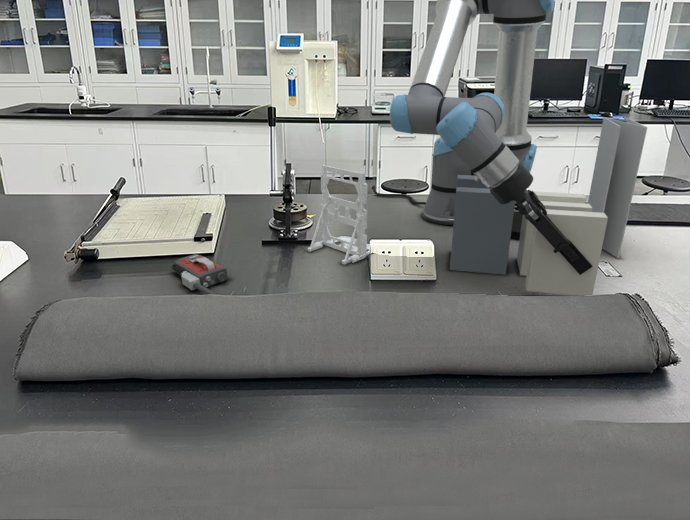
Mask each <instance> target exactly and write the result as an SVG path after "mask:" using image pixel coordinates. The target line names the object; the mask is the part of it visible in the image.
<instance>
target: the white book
mask: <svg viewBox="0 0 690 520" xmlns="http://www.w3.org/2000/svg"><path fill="white" fill-rule="evenodd" d="M541 211H542V210H541ZM546 211H547V216H548V217H549V219H550V220H551V221H552V222H553V223H554V224H555V225H556V227H557V228H558V229H559V230H560V231H561V232H562V234H563V235H564V236H565V237H566V238H567V239H568V240H569V241H571V242H572V243H573V244H574V246H575V247H576V248H577V249H578V250H579V251H580V252H581V253H582V255H583V256H584V257H585V258H586V259H587V260H588V261H589V262H590V264H591V265H592V266H593V267H592V268H590V269H589V270H587V271H586V272H584V273H583V274H581V275H579V273H578V272H577V271H576V270H575V269H574V268H573V267H572V266H571V264H570V263H569V262H568V261H567V260H566V259H565V258H564V257H563V256H562V254H561V253H560V252H557V253H554V251H553V250H554V249H555V248H554V247H553V246H552V245H551V244H550V243H549V242H548V241H547V240H546V238H545V237H544V236H543V235H542V234H541V233H540V232H539V231H538V230H537V229H536V228H535V226H534V229H533V236H532V243H531V250H530V256H529V263H528V270H527V276H525V277H526V278H525V285H524V286H525V289H526V292H533V293H541V294H542V293H543V294H554V295H565V296H575V295H592V296H593V294H594V290H595V289H594V288H595V284H596V279H597V274H598V270H599V264H600V260H601V254H602V250H603V249H602V245H603V240H604V235H605V230H606V225H607V220H608V217H607V216H606V215H605V213H599V212H583V211H566V210H550V209H546Z"/></svg>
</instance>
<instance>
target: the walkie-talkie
mask: <svg viewBox="0 0 690 520" xmlns="http://www.w3.org/2000/svg"><path fill="white" fill-rule="evenodd" d="M170 268H171V269H172V270H173V271H175V273H176V274H177V275H178V276H180V277H181V283H182V285H183V286H185V287H186V288H188V289H189V290H190V291H194V290H198V291H200V292H202V293H204V295H205V294H206V295H207V294H217V293H216V292H214V291H212V290H211V289H209V287H212V286H214V285H215V286H216V285H218V284H220V283H223V282H226V281H228V269H227V267H225V266H223V265H221V264H219V263H217V262H215V261H213V260H211V259H210V258H207V257H205V256H203V255H201V254H197V253H195V254H191V255H187V256H184V257H181V258H178V259H176V260H175V262H174V264H171V266H170Z"/></svg>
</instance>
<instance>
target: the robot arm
mask: <svg viewBox="0 0 690 520" xmlns="http://www.w3.org/2000/svg"><path fill="white" fill-rule="evenodd" d="M555 2H556V0H436V3H435V15H436V17H435V19H434V22H433V25H432V27H431V30H430V33H429V36H428V38H427V41H426V44H425V46H424V49H423V52H422V55H421V57H420V60H419V63H418V66H417V68H416V70H415V74H414V76H413V78H412V79H413V80H412V82H411V84H410V88H409V91H408V93H407V94H406V93H405V94H404V93H403V94H397V95H395V97H394V98H393V99H392V101H391V103H390V108H389V122H390V126H391V128H392V129H393V130H394V131H395V132H399V133H405V134H410V135H413V134H414V135H415V134H416V135H418V134H419V135H430V136H431V135H432V136H439V137H438V138H437V139H436V140H435V142H434V144H433V152H432V155H431V156H432V165H431V180H430V183H431V184H430V191H429V193H428V196H427V199H426V202H425V201H416V200H414V198H413V197H412V196H410V195H409V194H404V193H381V192H378V191H377V190H376V185H373V184H372V186H371V190H372V192H373V194H375V195H376V196H378V197H387V198H388V197H389V198H390V197H401V198H407V199H409V200H410V202H411V203H412V204H414V205H419V206H420V205H423V210H422V217H423V219H425V220H427V221H428V222H431V223H433V224H437V225H443V226H453V224H454V212H455V200H456V188H457V176H458V175H471V176H476V177H475V178H474V179H475V181H479V180H481V182H482V183H483V184H484V186H485V187H486V188H490V193H491V194H492V195H493V196H494V197H495V198H496V199H497V201H498V202H499V203H500V204H507V203H509V202H510V201H515V206H516V207H515V209H516V210H517V212H520V213H521V214H523V215H524V216H525V218H526V219H528V220H529V222H530V223H531V224H533V225H534V226H535V228H536V229H537V230H538V231H539V232H540V233H541V234H542V235H543V236H544V237H545V238H546V240H547V241H548V242H549V243H550V244H551V245H552V246H553V247H554V248H555V249H554V250H553V251H554V253H557V252H560V253H561V254H562V256H563V257H564V258H565V259H566V260H567V261H568V262H569V263H570V264H571V266H572V267H573V268H574V269H575V270H576V271H577V272H578V273H579V275H581V274H583V273H584V272H586V271H587V270H589V269H590V268H592V267H593V266H592V265H591V264H590V262H589V261H588V260H587V259H586V258H585V257H584V256H583V255H582V253H581V252H580V251H579V250H578V249H577V248H576V247H575V246H574V244H573V243H572V242H571V241H569V240H568V239H567V238H566V237H565V236H564V235H563V234H562V232H561V231H560V230H559V229H558V228H557V227H556V225H555V224H554V223H553V222H552V221H551V220H550V219H549V217H548V216H547V211H546V209H545V207H544V205H543V203H542V202H541V201H540V200H539V199H538V197H537V195H536V194H535V193H534V192H535V191H534V190H531V189H529V188H530V187H531V185H532V183H533V182H534V176H533V174H532V173H531V172H532V168H533V166H534V161H535V158H536V153H537V149H538V146H537V145H536V144H535V143H532V140H533V139H532V135H531V134H530V133H529V132H528V130H527V129H528V128H527V127H528V119H529V109H530V101H531V92H532V82H533V73H534V63H535V57H536V56H535V55H536V45H537V37H538V30H539V28H541V26H543V25H544V24H545V22H546V19H547V15H550V14H551V13H553V12H554V9H555V5H556V4H555ZM478 15H493V16H492V17H493V19H492V24H493V25H494V26H495V27H496V28H497V31H498V39H497V40H498V41H497V54H496V65H495V66H496V67H495V79H494V92H493V93H492V92H481V93H479V94H477V95H475V96H472V97H450V96H446V94H447V91H448V88H449V85H450V82H451V79H452V77H453V76H452V75H453V73H454V70H455V68H456V64H457V61H458V58H459V55H460V53H461V50H462V47H463V43H464V41H465V37H466V34H467V32H468V28H469V26H470V25H472V24H473V22H475V20H476V18H477V16H478ZM533 191H534V192H533ZM541 210H542V211H541Z"/></svg>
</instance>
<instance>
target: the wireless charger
mask: <svg viewBox="0 0 690 520" xmlns="http://www.w3.org/2000/svg"><path fill="white" fill-rule="evenodd" d="M522 218H523V214H521V213H520V212H519V211H514V214H513V222H512V230H511V238H510V240H518V241H519V240H520V233H521V226H522Z"/></svg>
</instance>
